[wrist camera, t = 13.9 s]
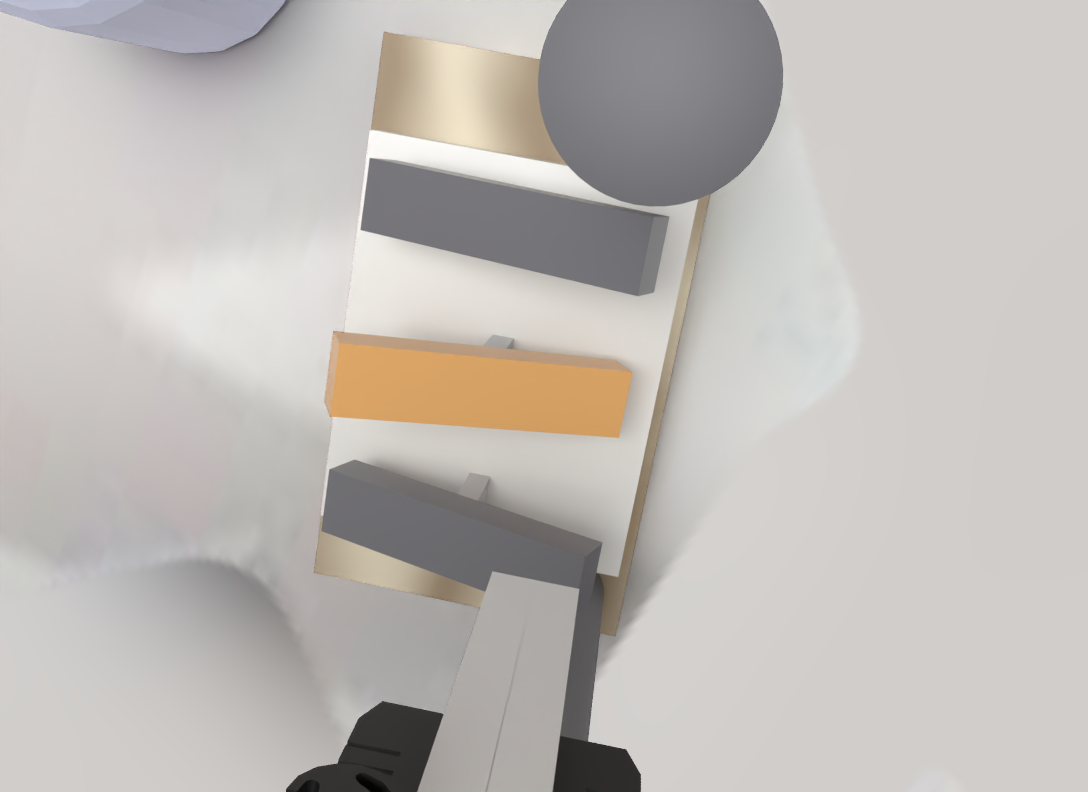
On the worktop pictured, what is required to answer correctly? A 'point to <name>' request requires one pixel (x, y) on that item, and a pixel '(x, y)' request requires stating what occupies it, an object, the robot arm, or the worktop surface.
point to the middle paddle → (474, 386)
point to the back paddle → (453, 532)
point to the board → (510, 127)
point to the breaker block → (522, 324)
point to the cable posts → (653, 141)
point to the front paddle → (515, 225)
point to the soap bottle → (153, 20)
